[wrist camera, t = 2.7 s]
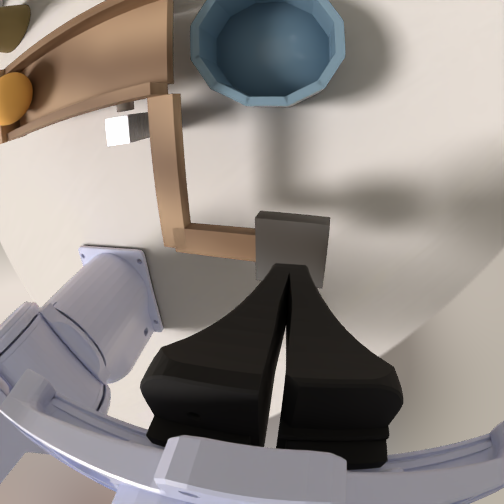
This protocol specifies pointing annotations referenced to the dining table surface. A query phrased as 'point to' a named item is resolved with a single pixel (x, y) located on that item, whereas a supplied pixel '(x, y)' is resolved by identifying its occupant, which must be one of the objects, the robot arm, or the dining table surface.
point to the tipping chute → (151, 125)
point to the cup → (267, 49)
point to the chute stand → (127, 128)
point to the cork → (13, 26)
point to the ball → (14, 97)
